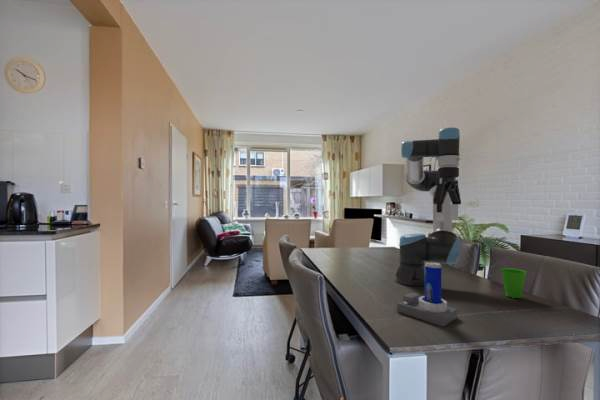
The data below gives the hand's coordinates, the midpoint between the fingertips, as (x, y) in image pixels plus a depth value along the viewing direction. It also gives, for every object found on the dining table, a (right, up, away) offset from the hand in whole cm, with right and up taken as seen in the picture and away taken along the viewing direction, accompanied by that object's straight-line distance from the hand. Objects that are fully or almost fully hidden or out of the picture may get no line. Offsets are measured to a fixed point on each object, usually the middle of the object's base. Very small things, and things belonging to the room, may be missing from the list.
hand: (447, 220), depth 116 cm
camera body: (-15, -31, -15) cm, 38 cm away
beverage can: (-14, -29, -17) cm, 36 cm away
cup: (+30, -33, +6) cm, 45 cm away
